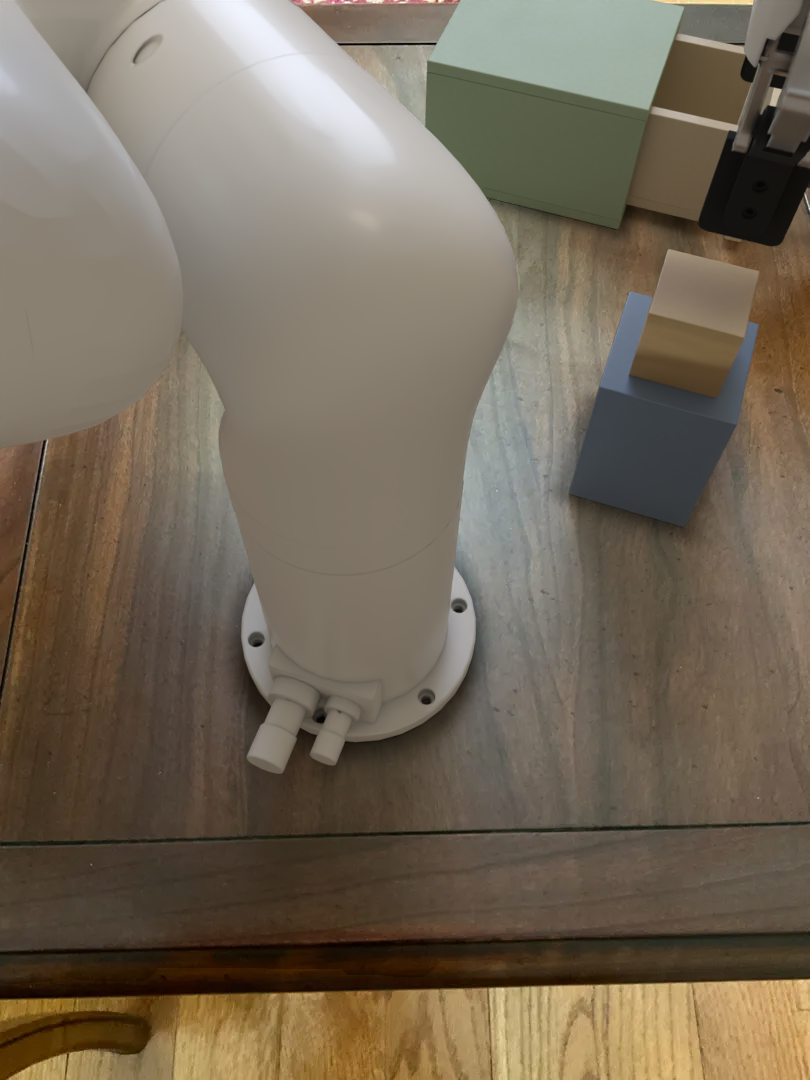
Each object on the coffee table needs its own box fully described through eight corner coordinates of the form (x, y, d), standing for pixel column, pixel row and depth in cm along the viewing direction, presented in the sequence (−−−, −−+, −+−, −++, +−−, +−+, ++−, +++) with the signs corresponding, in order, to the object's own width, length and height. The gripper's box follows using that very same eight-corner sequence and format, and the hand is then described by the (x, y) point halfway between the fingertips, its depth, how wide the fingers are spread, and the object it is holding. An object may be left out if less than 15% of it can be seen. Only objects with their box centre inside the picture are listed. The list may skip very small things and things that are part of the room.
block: (716, 399, 48) (744, 338, 44) (628, 375, 49) (648, 313, 45) (732, 334, 50) (760, 271, 46) (647, 312, 51) (668, 248, 47)
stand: (684, 527, 56) (737, 425, 48) (567, 493, 57) (598, 387, 49) (706, 435, 59) (759, 323, 51) (595, 405, 61) (629, 290, 52)
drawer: (844, 166, 70) (892, 68, 64) (827, 264, 66) (876, 168, 59) (586, 108, 74) (605, 8, 67) (550, 196, 69) (567, 99, 62)
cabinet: (652, 128, 74) (685, 6, 65) (618, 230, 68) (649, 110, 60) (470, 87, 76) (479, -36, 68) (423, 182, 71) (426, 60, 62)
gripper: (1153, -250, 20) (825, 331, 34) (1132, -512, 28) (874, 50, 43) (780, -307, 21) (619, 279, 36) (866, -542, 29) (705, 15, 44)
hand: (758, 154), depth 39 cm, fingers open, 9 cm apart
